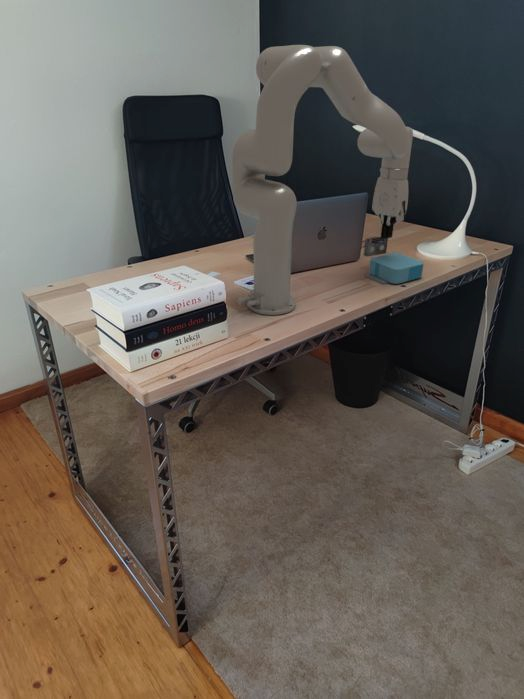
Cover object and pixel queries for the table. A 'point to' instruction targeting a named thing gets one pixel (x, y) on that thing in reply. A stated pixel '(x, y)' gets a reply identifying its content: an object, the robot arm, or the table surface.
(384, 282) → the mat
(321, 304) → the table surface
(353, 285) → the table surface
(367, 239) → the mini dv tape
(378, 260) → the data package
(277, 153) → the robot arm
